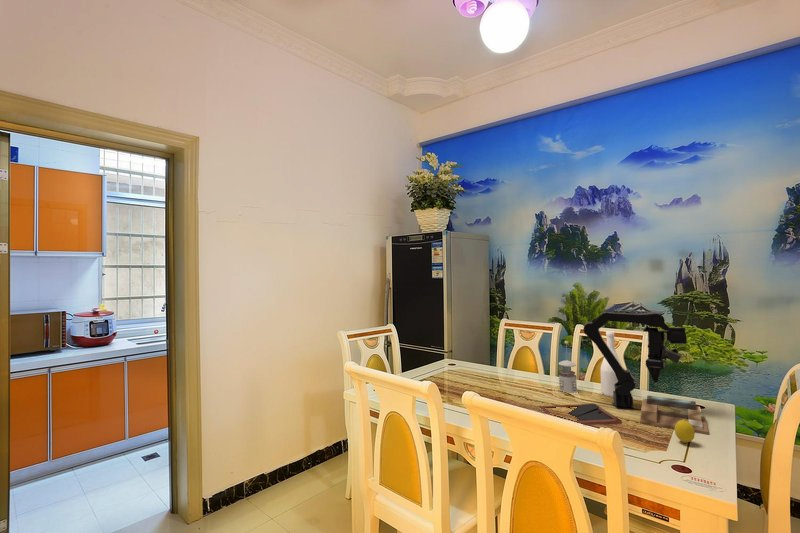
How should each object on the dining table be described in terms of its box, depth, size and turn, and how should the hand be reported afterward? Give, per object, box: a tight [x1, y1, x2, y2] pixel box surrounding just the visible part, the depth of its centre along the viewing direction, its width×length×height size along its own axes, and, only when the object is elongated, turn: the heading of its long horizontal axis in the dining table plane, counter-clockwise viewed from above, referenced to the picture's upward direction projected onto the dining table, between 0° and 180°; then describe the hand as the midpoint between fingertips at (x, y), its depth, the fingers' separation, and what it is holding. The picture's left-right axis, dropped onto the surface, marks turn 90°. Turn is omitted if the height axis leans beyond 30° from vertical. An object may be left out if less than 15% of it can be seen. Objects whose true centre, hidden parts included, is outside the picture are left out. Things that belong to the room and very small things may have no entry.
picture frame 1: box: [538, 403, 623, 426], centre depth 164 cm, size 20×2×25 cm
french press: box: [558, 340, 579, 393], centre depth 196 cm, size 10×12×25 cm
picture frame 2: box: [646, 395, 697, 410], centre depth 158 cm, size 16×5×2 cm, turn 56°
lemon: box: [674, 419, 696, 444], centre depth 136 cm, size 6×6×8 cm
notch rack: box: [639, 398, 709, 435], centre depth 155 cm, size 21×17×5 cm
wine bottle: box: [600, 330, 622, 398], centre depth 189 cm, size 10×10×30 cm
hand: (656, 379), depth 167 cm, fingers open, 9 cm apart
